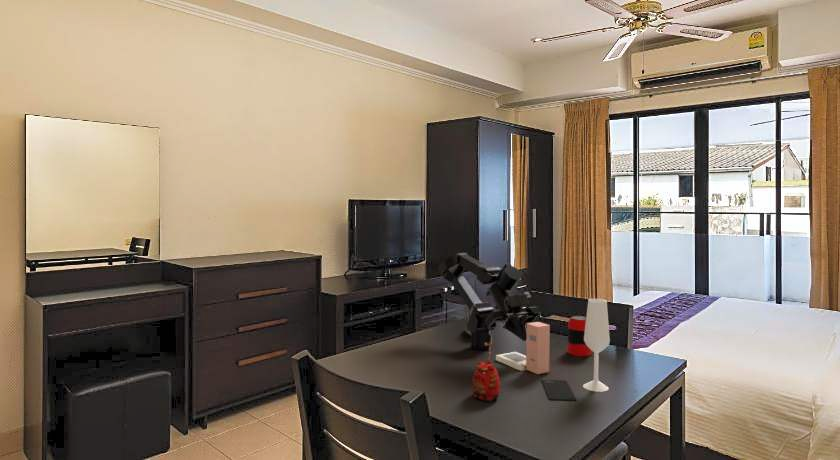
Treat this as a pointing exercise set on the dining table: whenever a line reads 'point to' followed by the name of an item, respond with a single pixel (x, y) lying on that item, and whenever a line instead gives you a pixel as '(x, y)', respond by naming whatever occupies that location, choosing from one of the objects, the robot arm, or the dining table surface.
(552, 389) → the smartphone
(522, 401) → the dining table surface
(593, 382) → the champagne flute
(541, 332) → the block
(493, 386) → the red clay folk toy
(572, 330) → the soda can
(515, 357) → the pad
